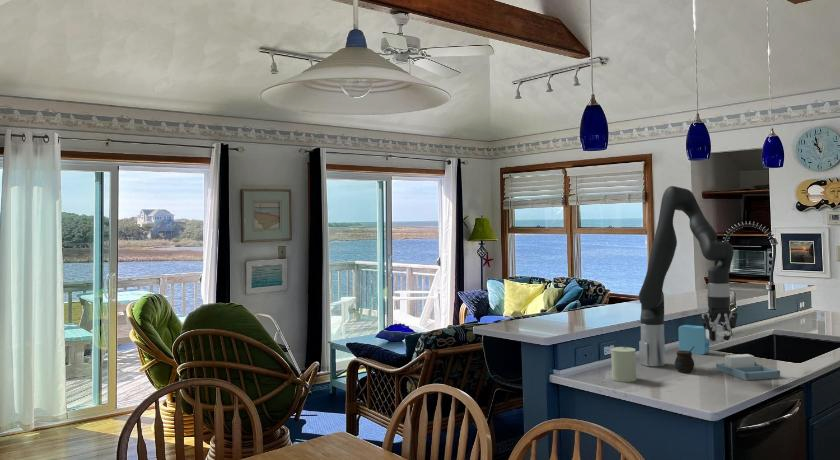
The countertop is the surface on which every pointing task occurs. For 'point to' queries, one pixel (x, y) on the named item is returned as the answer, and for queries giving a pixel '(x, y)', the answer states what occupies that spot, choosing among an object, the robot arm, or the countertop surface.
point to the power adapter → (719, 333)
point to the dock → (746, 368)
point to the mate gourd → (684, 361)
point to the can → (623, 364)
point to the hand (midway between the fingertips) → (719, 340)
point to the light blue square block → (693, 339)
